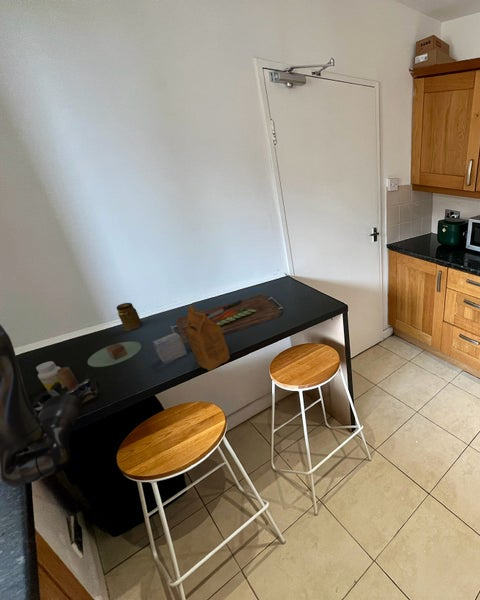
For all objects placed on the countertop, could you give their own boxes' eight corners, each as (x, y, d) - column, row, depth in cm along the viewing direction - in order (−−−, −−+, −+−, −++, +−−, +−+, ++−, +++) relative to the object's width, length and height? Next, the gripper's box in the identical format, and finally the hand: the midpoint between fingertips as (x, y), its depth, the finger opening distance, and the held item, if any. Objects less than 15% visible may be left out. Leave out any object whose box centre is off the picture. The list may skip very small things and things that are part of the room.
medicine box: (182, 350, 123) (175, 331, 119) (187, 354, 121) (180, 335, 117) (159, 360, 118) (151, 341, 114) (165, 365, 115) (156, 345, 111)
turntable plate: (100, 374, 111) (99, 372, 110) (80, 360, 118) (79, 358, 117) (150, 350, 123) (149, 348, 123) (129, 339, 130) (128, 337, 130)
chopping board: (178, 350, 123) (175, 343, 122) (168, 323, 142) (166, 317, 140) (288, 313, 149) (287, 308, 148) (268, 294, 167) (267, 289, 166)
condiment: (123, 329, 137) (111, 305, 131) (146, 321, 143) (136, 298, 137) (128, 335, 133) (116, 310, 127) (151, 327, 139) (141, 303, 133)
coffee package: (218, 348, 124) (202, 299, 114) (234, 360, 118) (219, 309, 108) (191, 361, 117) (172, 309, 107) (207, 374, 111) (188, 320, 101)
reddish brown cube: (115, 360, 116) (110, 351, 114) (110, 356, 118) (105, 348, 116) (127, 354, 119) (123, 345, 118) (122, 351, 121) (118, 342, 119)
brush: (72, 413, 95) (48, 378, 88) (67, 409, 96) (44, 374, 90) (100, 398, 100) (80, 364, 94) (96, 395, 102) (75, 361, 95)
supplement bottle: (60, 382, 107) (45, 359, 103) (75, 382, 107) (61, 359, 102) (44, 393, 102) (27, 370, 98) (60, 394, 102) (44, 370, 98)
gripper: (87, 395, 85) (99, 362, 98) (12, 417, 79) (35, 379, 91) (99, 414, 89) (109, 380, 101) (28, 437, 82) (48, 398, 95)
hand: (74, 380), depth 96 cm, fingers open, 6 cm apart
